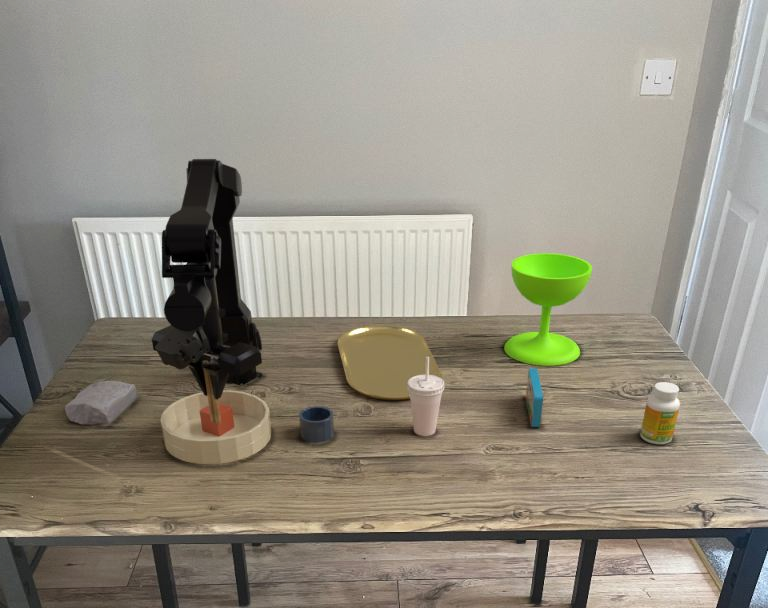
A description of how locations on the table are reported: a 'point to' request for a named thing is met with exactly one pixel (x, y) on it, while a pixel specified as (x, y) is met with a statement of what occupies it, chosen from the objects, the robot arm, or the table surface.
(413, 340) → the serving platter
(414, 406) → the smoothie
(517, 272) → the wineglass
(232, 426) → the block
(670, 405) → the supplement bottle
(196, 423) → the bowl
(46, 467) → the table surface
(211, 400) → the chopsticks
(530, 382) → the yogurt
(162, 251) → the robot arm
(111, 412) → the stone block
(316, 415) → the holder
